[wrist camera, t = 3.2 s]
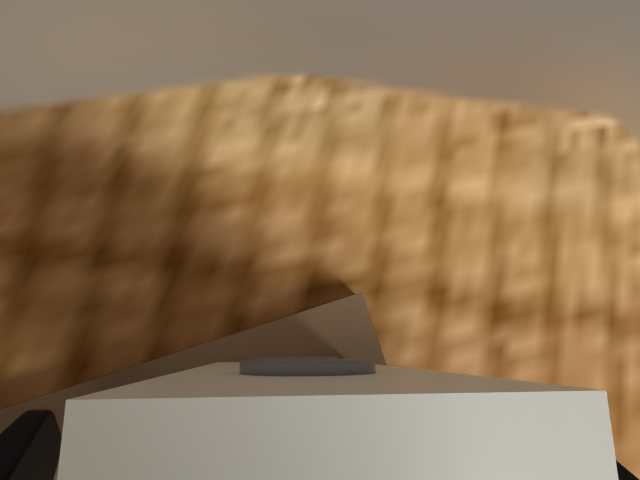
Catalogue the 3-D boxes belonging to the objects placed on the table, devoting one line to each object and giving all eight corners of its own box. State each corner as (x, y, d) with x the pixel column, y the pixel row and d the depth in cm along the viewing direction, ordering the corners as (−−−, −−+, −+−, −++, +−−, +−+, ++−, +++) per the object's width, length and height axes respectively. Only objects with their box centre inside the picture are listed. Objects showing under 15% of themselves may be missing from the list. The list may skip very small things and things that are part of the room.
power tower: (351, 502, 15) (705, 1104, 3) (211, 508, 15) (-32, 1264, 3) (348, 355, 16) (602, 366, 4) (218, 356, 16) (68, 372, 4)
